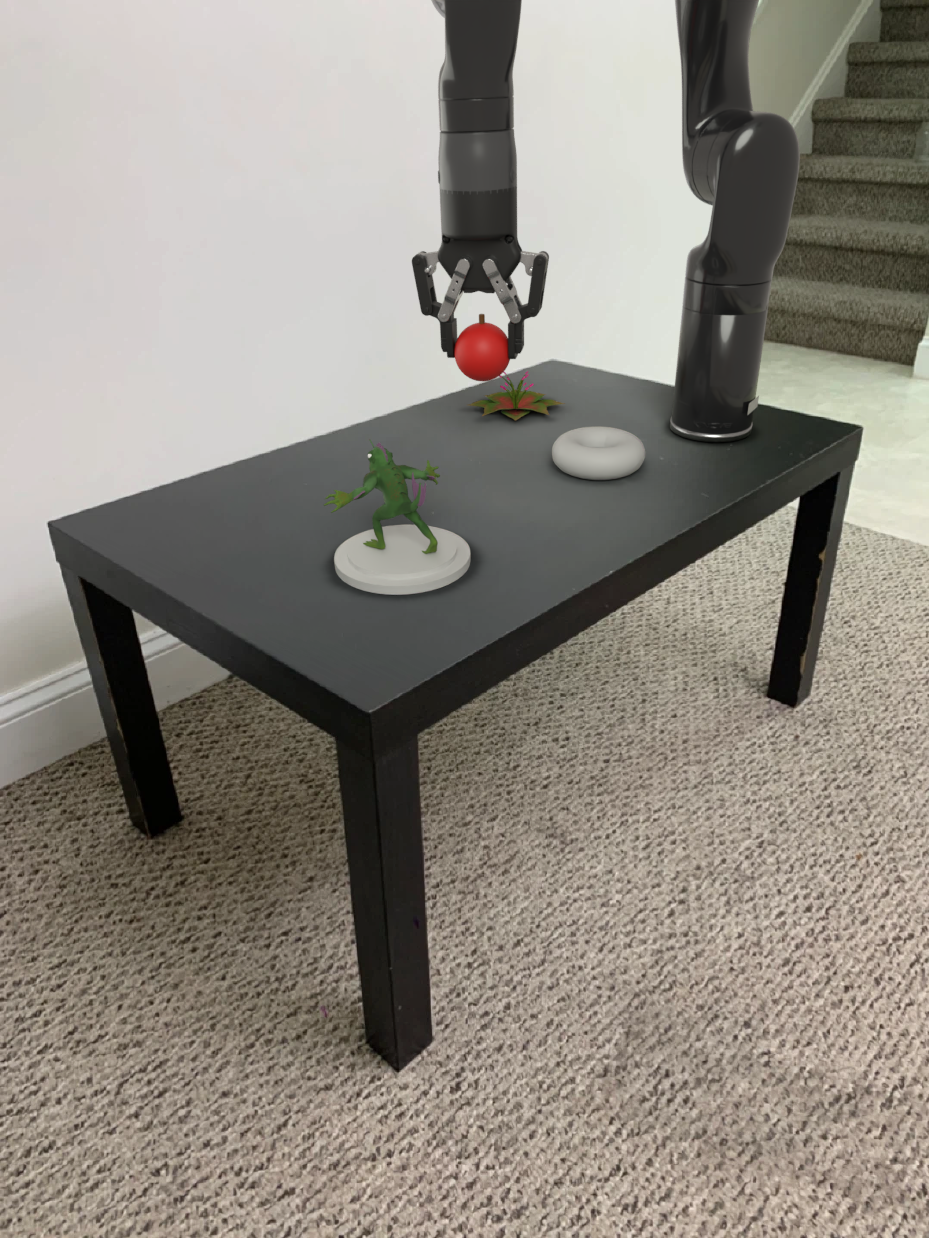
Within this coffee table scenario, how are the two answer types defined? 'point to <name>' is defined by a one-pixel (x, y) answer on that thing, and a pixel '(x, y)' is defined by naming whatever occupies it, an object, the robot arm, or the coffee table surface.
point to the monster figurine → (398, 536)
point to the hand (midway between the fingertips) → (482, 356)
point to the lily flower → (515, 401)
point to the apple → (482, 351)
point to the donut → (598, 453)
